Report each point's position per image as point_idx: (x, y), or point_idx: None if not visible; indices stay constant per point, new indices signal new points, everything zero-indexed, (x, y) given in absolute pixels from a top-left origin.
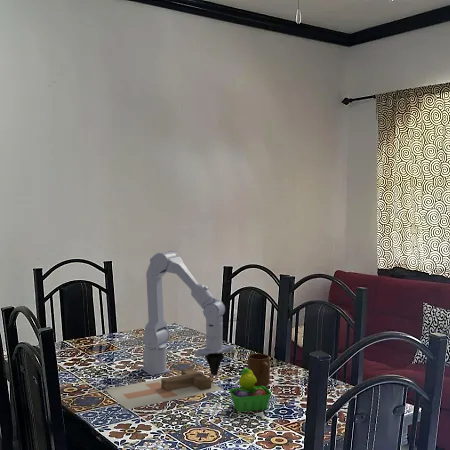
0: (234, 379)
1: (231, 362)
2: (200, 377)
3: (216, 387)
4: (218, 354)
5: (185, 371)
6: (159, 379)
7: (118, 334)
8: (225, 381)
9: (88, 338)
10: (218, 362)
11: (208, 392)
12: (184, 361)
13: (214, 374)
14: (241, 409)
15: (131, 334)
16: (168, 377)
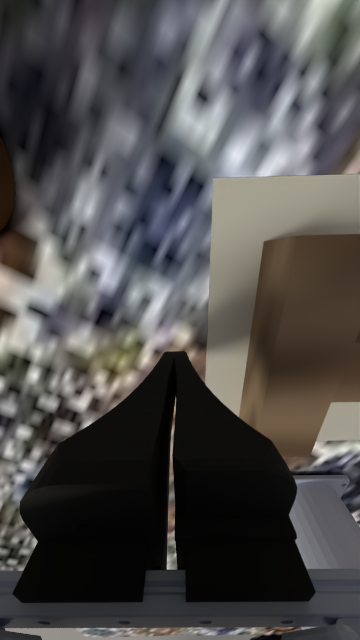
0: (78, 309)
1: (26, 470)
2: (325, 316)
3: (229, 238)
4: (105, 542)
5: (310, 434)
6: (355, 438)
7: (211, 631)
8: (134, 305)
9: (271, 630)
10: (150, 403)
11: (326, 175)
12: (173, 519)
13: (183, 353)
14: None
15: (189, 627)
16: None
